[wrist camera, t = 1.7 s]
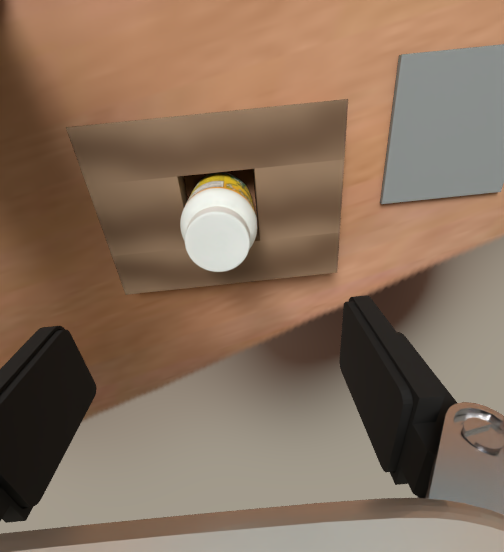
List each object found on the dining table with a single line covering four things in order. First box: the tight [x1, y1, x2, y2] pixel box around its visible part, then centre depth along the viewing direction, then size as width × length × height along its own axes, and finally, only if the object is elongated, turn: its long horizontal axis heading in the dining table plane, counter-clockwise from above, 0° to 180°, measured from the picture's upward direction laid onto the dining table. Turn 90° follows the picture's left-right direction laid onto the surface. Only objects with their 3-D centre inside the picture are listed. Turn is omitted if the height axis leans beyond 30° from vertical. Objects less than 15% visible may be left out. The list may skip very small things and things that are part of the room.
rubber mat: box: [380, 44, 504, 204], centre depth 24 cm, size 11×11×1 cm
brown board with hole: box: [66, 99, 348, 295], centre depth 25 cm, size 14×20×2 cm
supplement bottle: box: [180, 172, 257, 272], centre depth 22 cm, size 5×5×10 cm
